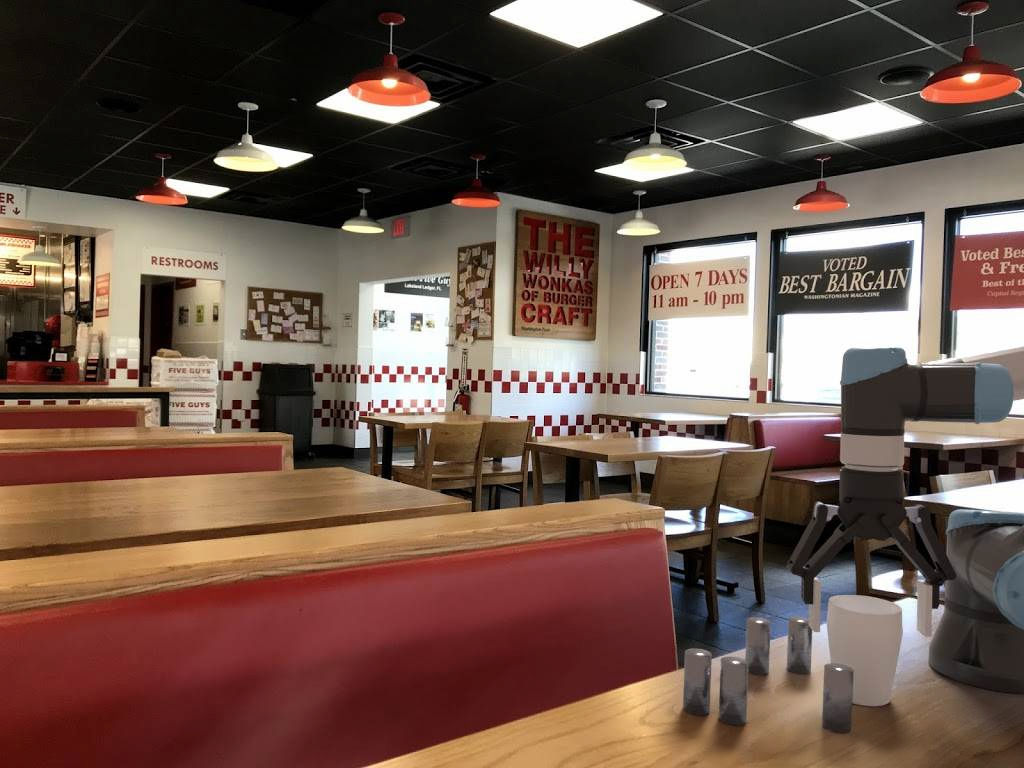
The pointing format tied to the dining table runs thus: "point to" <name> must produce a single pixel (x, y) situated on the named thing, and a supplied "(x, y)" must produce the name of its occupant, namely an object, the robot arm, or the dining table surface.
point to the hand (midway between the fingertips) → (868, 631)
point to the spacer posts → (757, 663)
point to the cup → (866, 644)
